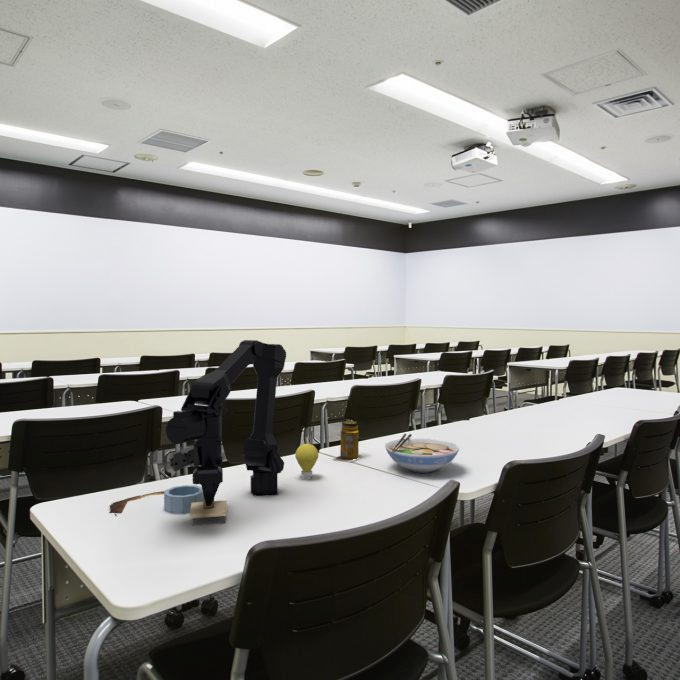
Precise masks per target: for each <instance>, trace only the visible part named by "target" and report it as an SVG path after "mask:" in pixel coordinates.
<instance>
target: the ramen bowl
mask: <svg viewBox="0 0 680 680" xmlns="http://www.w3.org/2000/svg"><path fill="white" fill-rule="evenodd" d="M412 435H413V434H412V433H410V434H408V435H407V433H404V434H403V435H402V436H401V438H400V439H395V440H394V439H393V440H389V441H388V442H385V444H384V448H385V450H386V452H387V454H388V455H389V457H390V458H391V459H392V460H393V461H394V462H395V463H396V464H398V465H399V466H400V467H402V468H405V469H408V470H409V471H411V472H414V473H421V474H425V473H431V472H434V471H436V470H440V469H443V468H444V467H446V466H448V465H449V464H450V463H452V461H453V460H454V459H455V458H456V456H457V455H458V452H459V451H460V447H459V445H457V444H456V443H453V442H450V441H446V440H440V439H435V438H434V439H432V438H421V437H420V438H418V437H417V438H414V437H412Z"/></svg>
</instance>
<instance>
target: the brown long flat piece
mask: <svg viewBox="0 0 680 680" xmlns="http://www.w3.org/2000/svg"><path fill="white" fill-rule="evenodd" d="M164 493H165V490H164V491H163V490H161V491H154V492H151V493H145V494H142V495H135V496H132V497H127V498H125V499H121V500H118V501H114V502H112V503H111V504H110V505H109V508H110V510H109V512H108V514H114V515H115V516H116V517H118V515H117V514H119V515H120V514H122V513H123V511H124V509H125V508H126V506H127V504H128V502H133V501H137V500H141V499H143V498H148V497H150V496H156V495H157V496H159V495H164Z"/></svg>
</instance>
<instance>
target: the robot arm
mask: <svg viewBox="0 0 680 680" xmlns="http://www.w3.org/2000/svg"><path fill="white" fill-rule="evenodd" d="M286 359H287V351H286V349H284V347H283V345H282V344H280V343H279V344H278V343H277V344H276V343H266V342H262V341H259V340H255V339H253V340H251V339H249V340H248V339H244V340H241V341H240V343H239V344H238V346H237V347H236V349H235V350H233V352H232V353H231V354H229V355H228V357H227V358H226V359H225V360H224V361H222V363H221V364H219V366H218V367H217V368H216V369H215V370H213V371H211V372H209V373H206V374H203V375H202V376H200V377H199V378H197V379H196V380H195V381H193V383H192V384H191V386H190V389H189V392H188V394H187V396H186V397H185V400H184V402H183V404H182V406H181V408H180V410H176V411H173V414H172V416H173V417H171V418H169V420H168V421H167V424H166V426H165V434H166V437H167V438H168V440H169V441H170V443H172V444H174V445H181V444H185V443H188V442H192V441H194V442H193V444H192V445H191V446H188V447H185V448H182V449H179V450H177V451H175V452H173V453H170V454H169V456H168V460H169V463H170V464H169V465H170V467H171V469H172V470H173V472H177V471H180V470H181V469H183V468H185V467H188V466H190V465H192V464H193V467H195V469H193V471H192V485H199V486H200V487H202V490H203V494H204V499H205V503H206V506H211V504H212V502H213V499H214V500H215V497H216V494H217V492H218V490H219V487H220V484H222V483H223V482H224V478H223V477H224V474H223V473H224V472H223V467H222V466H220V465H222V464H223V453H222V415H223V414H227V413H228V409H227V408H226V407H224V406H223V404H224V403H225V401H226V400H227V398H228V397H229V395H230V393H231V386H232V384H233V383H234V382H235V380H237V379H238V378H239V376H241V374H242V373H243V372H244V371H245V370H246V369H247V368H248V366H249V365H251V363H252V367H253V369H254V371H255V373H256V376H257V384H256V386H257V387H256V397H255V407H254V418H253V427H252V428H253V430H252V433H251V434H250V436H249V437H248V438H245V439H244V441H243V451H242V455H243V461H244V463H245V468H246V471H252V474H251V475H250V494H252V496H253V497H267V496H278V495H279V492H278V474H281V473H282V472H283V471H284V467H285V462H284V460H283V458H282V457H281V456H280V454H279V453H278V442H277V441H276V439H275V436H274V434H273V429H274V428H273V427H274V416H275V406H276V393H277V382H278V377H279V376H280V374H281V373H283V372H282V371H284V368H285V362H286Z"/></svg>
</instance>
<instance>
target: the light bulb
mask: <svg viewBox="0 0 680 680" xmlns="http://www.w3.org/2000/svg"><path fill="white" fill-rule="evenodd" d="M294 454H295V455H294V456H295V459H296V461H297V464H298V465H299V466H300V468H301V472H300V473H301V474H300V475H301V476H302V480H311V479H312V476H313V470H312V469H313V468H314V466H315V464H316V463H317V461H318V459H319V451H318V449H317V448H316V446H314V445H313V444H311V443H304V444H301V445H299V446H298V448H297V449H296V451H295V453H294Z"/></svg>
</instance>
